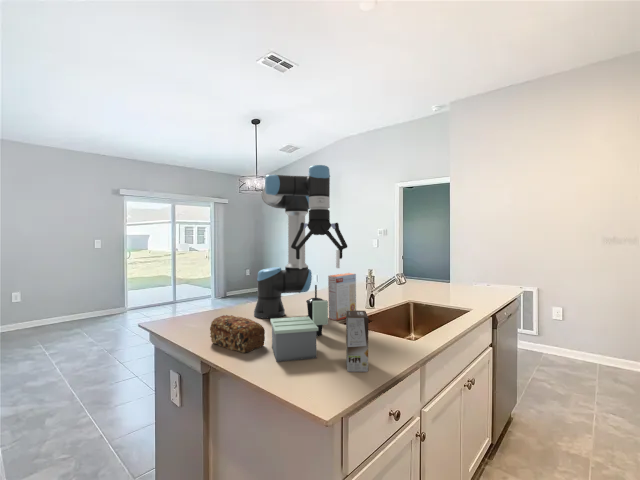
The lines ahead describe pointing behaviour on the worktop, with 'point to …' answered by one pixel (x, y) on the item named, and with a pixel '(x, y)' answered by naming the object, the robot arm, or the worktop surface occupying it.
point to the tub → (294, 345)
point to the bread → (237, 333)
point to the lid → (303, 320)
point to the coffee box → (357, 341)
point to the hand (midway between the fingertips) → (319, 268)
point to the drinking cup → (310, 311)
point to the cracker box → (341, 295)
